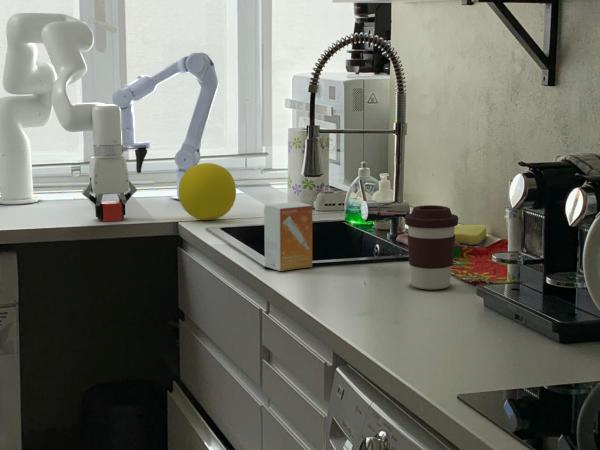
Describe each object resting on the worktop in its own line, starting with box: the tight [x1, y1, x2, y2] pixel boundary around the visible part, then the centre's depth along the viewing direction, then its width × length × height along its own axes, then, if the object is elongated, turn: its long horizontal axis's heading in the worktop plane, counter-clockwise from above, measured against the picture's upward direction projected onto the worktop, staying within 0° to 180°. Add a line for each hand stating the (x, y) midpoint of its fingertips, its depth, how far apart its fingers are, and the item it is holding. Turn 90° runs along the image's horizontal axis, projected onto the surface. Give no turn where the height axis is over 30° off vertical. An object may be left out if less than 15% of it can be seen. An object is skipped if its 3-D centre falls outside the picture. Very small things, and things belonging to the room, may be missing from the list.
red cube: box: [101, 200, 123, 223], centre depth 280 cm, size 5×5×5 cm
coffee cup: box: [404, 204, 459, 291], centre depth 197 cm, size 10×10×15 cm
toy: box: [179, 162, 237, 221], centre depth 277 cm, size 15×15×15 cm
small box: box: [263, 201, 313, 272], centre depth 215 cm, size 8×6×13 cm
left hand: (110, 218), depth 280 cm, fingers closed on red cube, 5 cm apart
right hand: (126, 173), depth 318 cm, fingers open, 7 cm apart
